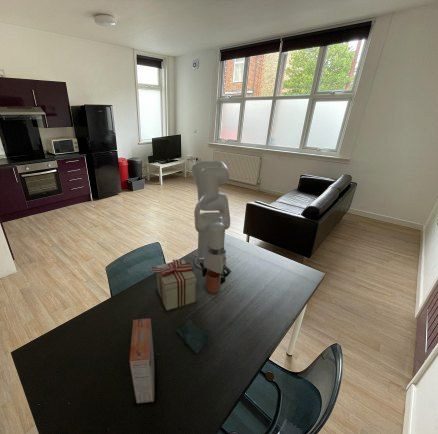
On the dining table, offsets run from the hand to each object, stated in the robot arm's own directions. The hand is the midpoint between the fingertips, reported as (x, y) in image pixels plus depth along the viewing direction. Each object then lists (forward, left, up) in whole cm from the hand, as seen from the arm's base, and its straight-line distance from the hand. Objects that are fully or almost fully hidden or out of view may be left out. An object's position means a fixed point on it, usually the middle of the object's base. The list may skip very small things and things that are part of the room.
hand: (213, 279), depth 116 cm
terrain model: (+7, -28, -7) cm, 30 cm away
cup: (-1, +1, -6) cm, 6 cm away
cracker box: (+4, -51, -7) cm, 52 cm away
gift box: (-13, -15, -7) cm, 21 cm away
